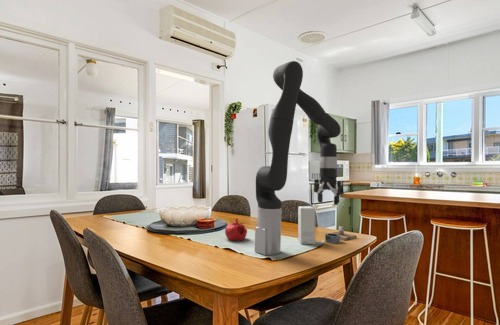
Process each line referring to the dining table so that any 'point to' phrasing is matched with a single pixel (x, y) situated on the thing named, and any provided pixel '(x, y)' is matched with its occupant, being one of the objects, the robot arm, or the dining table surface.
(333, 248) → the dining table surface
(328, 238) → the steel ring
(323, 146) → the robot arm
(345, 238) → the piston stand
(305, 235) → the skincare box
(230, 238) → the pomegranate
